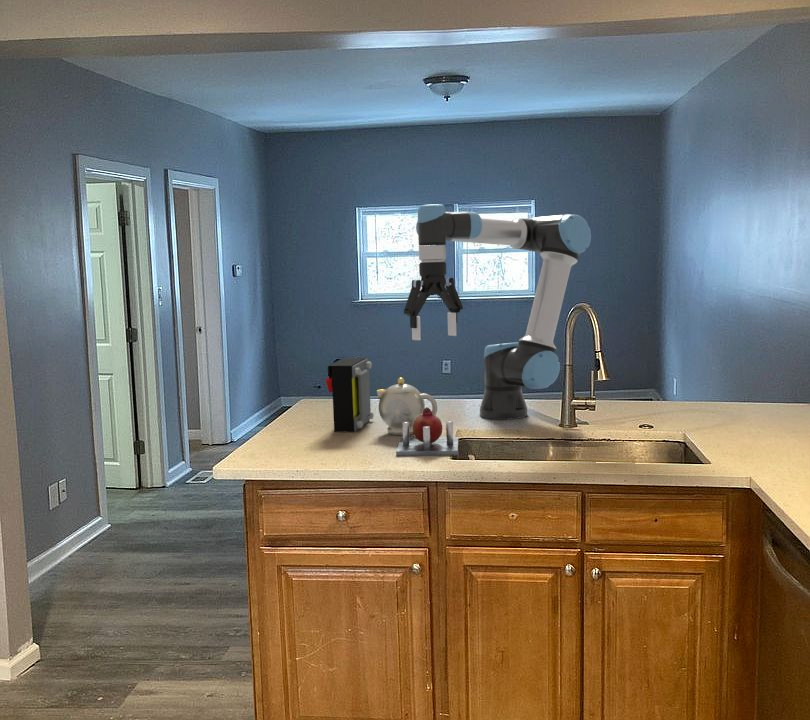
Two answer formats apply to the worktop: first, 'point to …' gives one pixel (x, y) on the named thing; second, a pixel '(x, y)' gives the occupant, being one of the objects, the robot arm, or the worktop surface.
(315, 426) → the worktop surface
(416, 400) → the teapot
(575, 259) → the robot arm
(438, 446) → the grey square pegged plate
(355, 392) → the electrical component
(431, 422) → the fruit
